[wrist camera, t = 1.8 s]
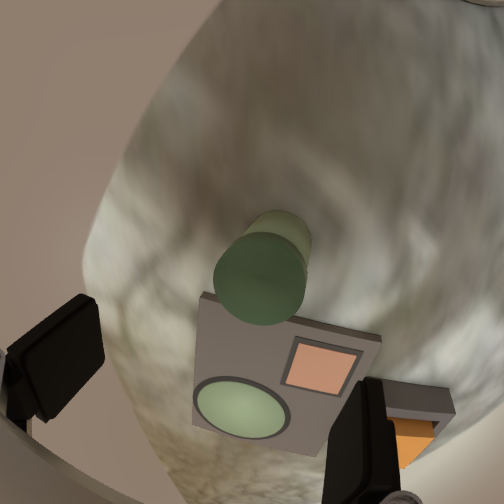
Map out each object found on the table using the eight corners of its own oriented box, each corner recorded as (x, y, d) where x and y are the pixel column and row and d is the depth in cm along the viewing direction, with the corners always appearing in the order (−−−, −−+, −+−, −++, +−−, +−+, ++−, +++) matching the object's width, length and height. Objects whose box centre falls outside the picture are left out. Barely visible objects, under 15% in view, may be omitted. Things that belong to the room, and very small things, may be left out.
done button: (378, 409, 20) (379, 433, 18) (430, 415, 19) (434, 437, 17) (354, 442, 22) (353, 464, 20) (402, 447, 21) (404, 468, 19)
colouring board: (203, 291, 22) (198, 298, 21) (380, 336, 20) (382, 344, 19) (194, 419, 28) (191, 425, 28) (316, 451, 26) (315, 458, 26)
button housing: (367, 376, 22) (368, 404, 19) (448, 388, 20) (456, 414, 18) (333, 432, 25) (331, 457, 22) (406, 441, 24) (408, 464, 21)
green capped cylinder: (251, 202, 19) (218, 232, 13) (319, 217, 18) (314, 255, 13) (241, 263, 20) (209, 312, 15) (304, 279, 20) (292, 335, 14)
